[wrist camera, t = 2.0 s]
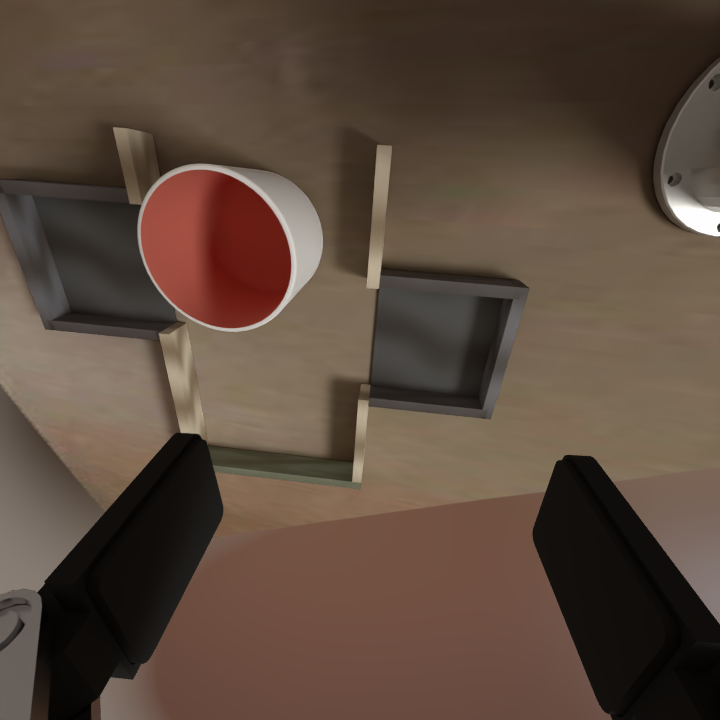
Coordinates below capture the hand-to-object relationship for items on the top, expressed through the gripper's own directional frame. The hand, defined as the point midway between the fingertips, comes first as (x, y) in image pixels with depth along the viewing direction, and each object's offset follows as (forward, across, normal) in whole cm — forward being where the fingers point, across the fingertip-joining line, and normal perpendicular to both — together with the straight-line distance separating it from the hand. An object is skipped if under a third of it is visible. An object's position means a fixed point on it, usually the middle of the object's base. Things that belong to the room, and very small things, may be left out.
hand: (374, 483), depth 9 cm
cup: (+24, +10, -4) cm, 27 cm away
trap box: (+24, +11, +6) cm, 27 cm away
